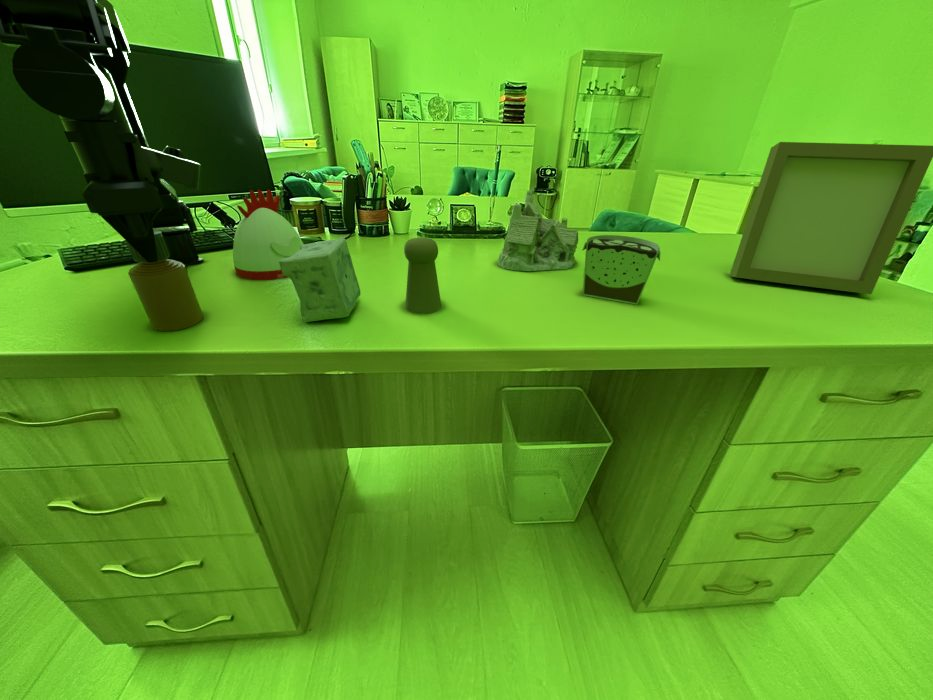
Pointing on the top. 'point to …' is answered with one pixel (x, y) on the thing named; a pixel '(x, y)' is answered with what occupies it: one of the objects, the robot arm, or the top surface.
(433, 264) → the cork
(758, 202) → the photo frame
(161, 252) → the cap
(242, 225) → the kitchen timer
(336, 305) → the incense holder
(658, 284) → the top surface
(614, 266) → the food container
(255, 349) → the top surface
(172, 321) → the bottle
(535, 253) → the ceramic cottage
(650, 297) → the top surface
